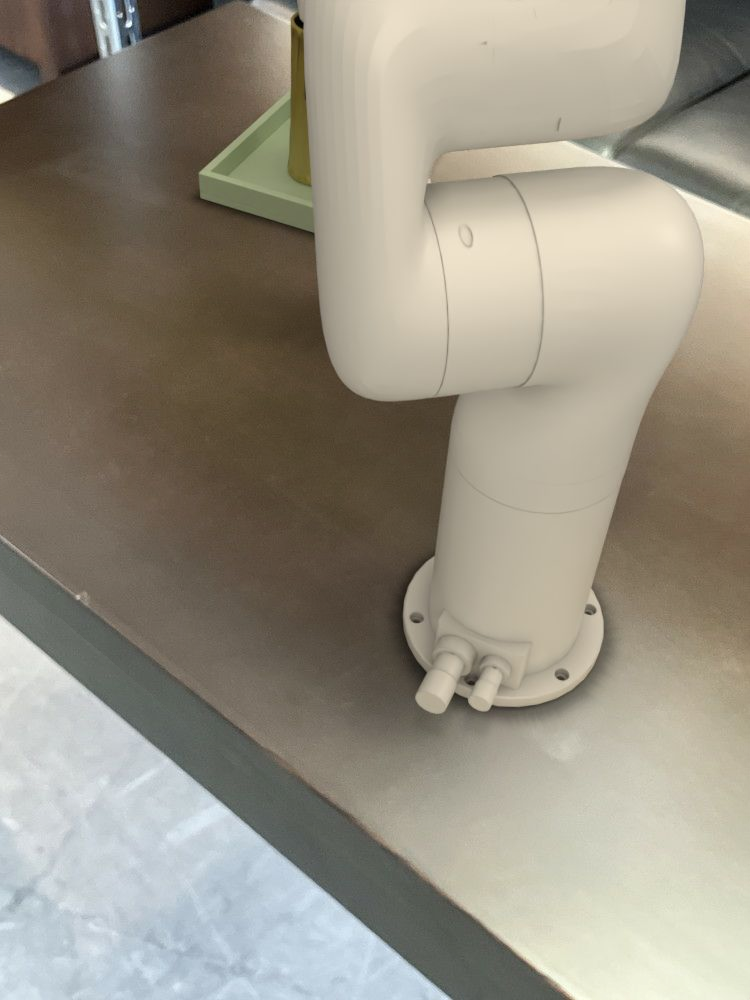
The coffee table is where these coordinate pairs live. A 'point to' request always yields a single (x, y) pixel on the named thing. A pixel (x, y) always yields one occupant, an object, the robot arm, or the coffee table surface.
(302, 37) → the vase
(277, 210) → the tray
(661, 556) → the coffee table surface
